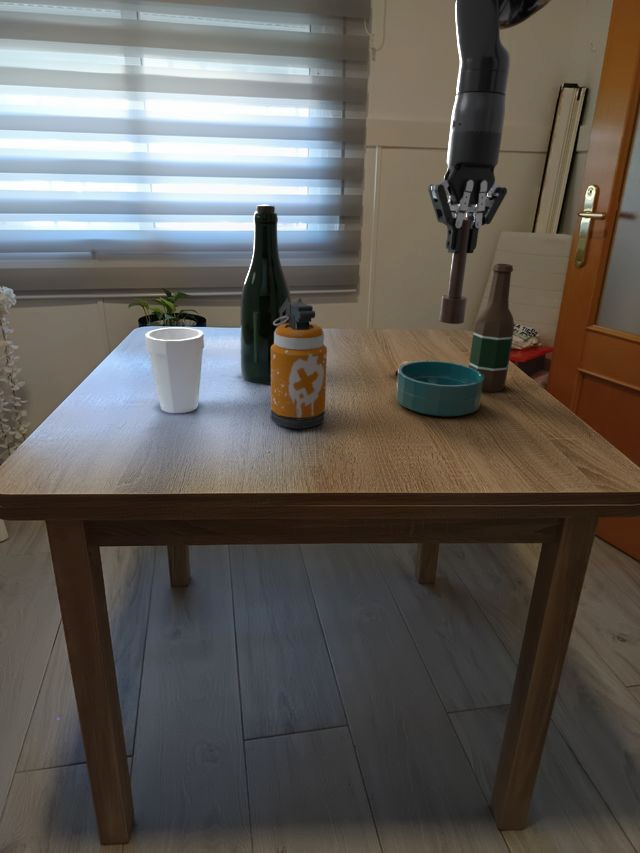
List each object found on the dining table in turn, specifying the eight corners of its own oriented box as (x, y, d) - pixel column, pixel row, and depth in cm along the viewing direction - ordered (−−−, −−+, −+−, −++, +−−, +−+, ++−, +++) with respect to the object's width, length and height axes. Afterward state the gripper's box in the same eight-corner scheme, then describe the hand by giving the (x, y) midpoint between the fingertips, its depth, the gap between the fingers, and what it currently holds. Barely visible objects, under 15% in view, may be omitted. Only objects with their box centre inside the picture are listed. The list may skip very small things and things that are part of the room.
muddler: (467, 321, 96) (481, 220, 90) (457, 325, 93) (471, 220, 87) (445, 317, 98) (457, 218, 92) (435, 321, 95) (446, 218, 89)
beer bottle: (470, 391, 113) (487, 266, 104) (462, 379, 120) (478, 261, 111) (509, 393, 113) (530, 268, 103) (499, 381, 120) (518, 262, 111)
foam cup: (207, 397, 106) (204, 327, 101) (206, 415, 97) (202, 340, 92) (154, 398, 104) (148, 327, 99) (148, 417, 96) (141, 341, 91)
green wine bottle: (302, 376, 119) (305, 205, 106) (269, 388, 111) (268, 206, 98) (264, 366, 125) (263, 203, 112) (230, 377, 117) (224, 203, 104)
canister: (280, 434, 91) (281, 308, 83) (260, 410, 100) (259, 294, 92) (332, 427, 94) (337, 305, 86) (308, 405, 103) (311, 292, 96)
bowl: (491, 402, 108) (496, 371, 105) (457, 426, 96) (462, 392, 94) (419, 385, 116) (422, 356, 114) (380, 404, 105) (382, 373, 102)
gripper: (452, 125, 79) (437, 256, 85) (530, 132, 84) (510, 255, 91) (422, 128, 85) (410, 250, 92) (496, 135, 90) (480, 249, 97)
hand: (460, 252), depth 91 cm, fingers closed on muddler, 2 cm apart
